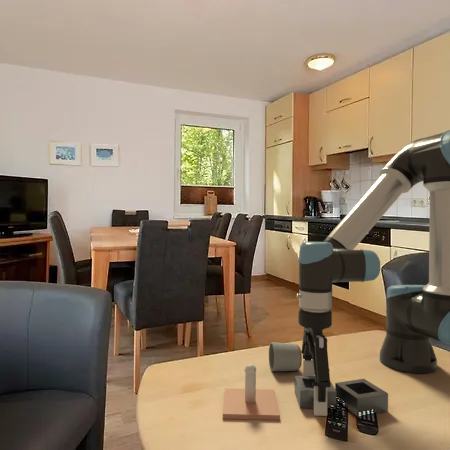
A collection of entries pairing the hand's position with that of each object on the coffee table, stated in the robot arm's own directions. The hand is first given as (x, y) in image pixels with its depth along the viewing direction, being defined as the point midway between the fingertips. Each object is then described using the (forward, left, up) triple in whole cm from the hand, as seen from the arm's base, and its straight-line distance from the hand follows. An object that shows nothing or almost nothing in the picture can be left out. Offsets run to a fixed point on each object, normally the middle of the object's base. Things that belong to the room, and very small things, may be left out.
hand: (313, 399), depth 87 cm
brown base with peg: (+15, +3, 0) cm, 15 cm away
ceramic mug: (+5, -19, 0) cm, 20 cm away
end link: (0, 0, 0) cm, 0 cm away
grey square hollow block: (-10, +2, 0) cm, 10 cm away
